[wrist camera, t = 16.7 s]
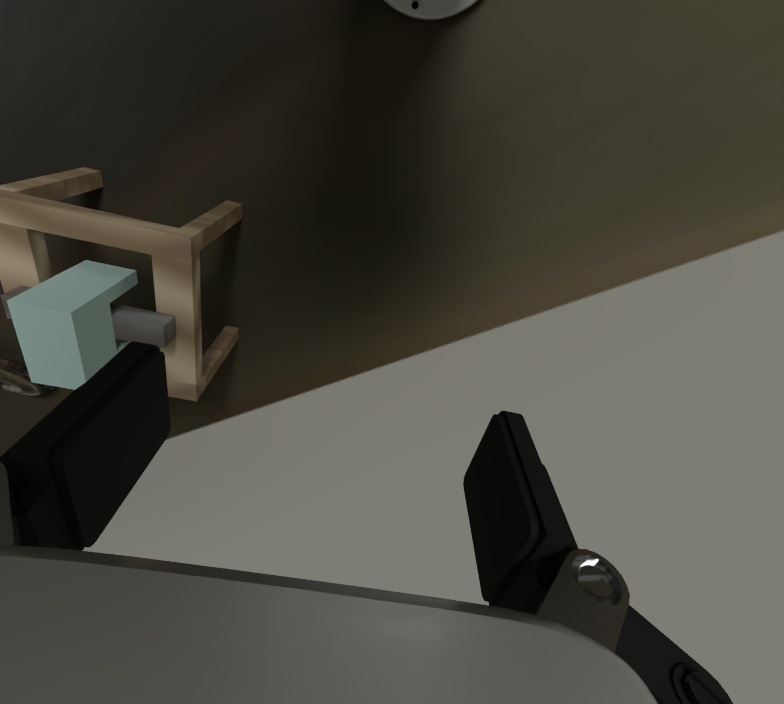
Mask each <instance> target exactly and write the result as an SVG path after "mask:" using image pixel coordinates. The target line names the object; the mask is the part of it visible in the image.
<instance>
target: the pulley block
mask: <svg viewBox="0 0 784 704" xmlns="http://www.w3.org/2000/svg"><path fill="white" fill-rule="evenodd" d="M0 381H2V382H3V383H2V387H3V388H4V389H5V390H7V391H11V392H16V393H19V394H23V395H28V396H39V395H42V394H44V393H45V392H46V391H47V390H49V389H54V388H53V387H51V386H50V385H45V384H39V383H33V382H31V379H30V376H29V373H28V369H27V368H26V367H24V366H22V365H19V364H17V363H14V362H11V361H8V360H5V359H1V358H0ZM48 388H49V389H48Z"/></svg>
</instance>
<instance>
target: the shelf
mask: <svg viewBox="0 0 784 704" xmlns="http://www.w3.org/2000/svg"><path fill="white" fill-rule="evenodd" d="M102 187H103V182H102V175H101V171H99V170H94V169H90V168H86V167H83V168H79V169H74V170H69V171H65V172H60V173H55V174H51V175H46V176H41V177H37V178H32V179H27V180H23V181H18V182H13V183H9V184H4V185H0V280H1V283H2V286H3V290H4V294H2V295H0V296H1V299H2V302H3V305H4V309H5V312H6V315H7V318H9V319H12V317H11V314H10V311H9V307H8V304H7V300H9V299H11V298H13V297H15V296H17V295H19V294H21V293H22V292H24V291H26V290H28V289H30V288H32V287H34V286H36V285H38V284H40V283H42V282H44V281H46V280H48V279H50V278H52V277H53V274H52V269H51V265H50V261H49V256H48V252H47V247H46V243H45V239H44V234H43V232H46V233H51V234H56V235H60V236H65V237H70V238H74V239H79V240H84V241H89V242H93V243H98V244H103V245H108V246H112V247H117V248H122V249H126V250H131V251H136V252H141V253H145V254H150V255H152V266H153V277H154V288H155V300H156V311H157V312H154V311H149V310H144V309H139V308H134V307H129V306H124V305H120V304H115V303H109V304H110V310H111V316H112V322H113V329H114V335H115V339H120V340H125V341H131V342H132V341H137V342H142V343H147V344H153V345H156V346H157V347H160V351H161V352H163V353H164V355H165V363H166V375H167V388H168V396H169V397H175V398H181V399H186V400H192V401H197V400H198V399H199V397H200V396H201V394H202V393H203V391H204V390H205V388H206V387H207V385H208V384H209V382H210V381H211V379H212V378H213V376H214V375H215V373H216V372H217V370H218V369H219V367H220V366H221V364H222V363H223V361H224V360H225V358H226V357H227V355H228V354H229V352H230V351H231V349H232V348H233V346H234V345H235V343H236V342H237V340H238V339H239V328H237V327H232V326H227V325H226V326H225V327H224V329H223V330H222V331H221V333H220V334H219V335H218V336H217V338H216V339H215V340H214V342H213V343H212V344H211V346H210V347H209V348H208V350H207V351H206V352H205V354H204V355H203V356H202V330H201V290H200V250H202V249H203V248H204V247H205V246H207V245H208V244H209V243H211V242H212V241H213V240H215V239H216V238H217V237H219V236H220V235H221V234H223V233H224V232H225V231H227V230H228V229H229V228H230V227H232V226H233V225H234V224H236V223H237V222H238V221H240V220H241V219H242V210H243V204H242V203H238V202H234V201H229V200H227V201H225V202H223V203H222V204H220V205H218V206H217V207H215V208H213V209H211V210H210V211H208V212H206V213H205V214H203V215H201V216H199V217H198V218H196V219H194V220H193V221H191V222H189V223H188V224H186V225H184V226H182V227H181V228H176V227H171V226H166V225H162V224H157V223H153V222H148V221H144V220H139V219H135V218H130V217H125V216H121V215H116V214H112V213H107V212H103V211H98V210H94V209H89V208H85V207H80V206H75V205H71V204H66V203H62V202H57V201H58V200H61V199H65V198H68V197H71V196H75V195H78V194H82V193H85V192H88V191H92V190H95V189H99V188H102Z"/></svg>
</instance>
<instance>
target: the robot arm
mask: <svg viewBox="0 0 784 704" xmlns="http://www.w3.org/2000/svg"><path fill="white" fill-rule="evenodd" d="M383 1H384V2H385V3H386V4H387V5H388V6H390V7H391V8H393V9H394V10H396V11H397V12H399V13H401V14H402V15H405V16H408V17H411V18H414V19H418V20H428V21H433V20H440V19H446V18H449V17H451V16H454V15H456V14H459V13H461V12H463V11H464V10H466V9H467V8H469V7H470V6H472V5H473V4H475V3H476V2H477V1H478V0H383ZM413 2H417V3H418V8H417V9H413V8H412V3H413ZM169 431H170V412H169V400H168V388H167V375H166V363H165V355H164V353H163V352H161V351H159V348H158V347H157V346H156V345H153V344H147V343H142V342H137V341H132V342H130V343H129V344H127V345H126V346H125V347H124V348H123V349H122V350H121V351H120V352H119V353H118V354H116V355H115V356H114V357H113V358H112V359H111V360H110V361H109V362H108V363H106V364H105V365H104V366H103V367H102V368H101V369H100V370H99V371H98V372H96V373H95V374H94V375H93V376H92V377H91V378H90V379H89V380H88V381H87V382H85V383H84V384H82V385H81V386H79V387H78V388H77V389H76V390H74V391H73V392H72V393H71V394H70V395H69V396H68V397H67V398H65V399H64V400H63V401H62V402H61V403H60V404H59V405H58V406H57V407H55V408H54V409H53V410H52V411H51V412H50V413H49V414H48V415H47V416H45V417H44V418H43V419H42V420H41V421H40V422H39V423H38V424H37V425H35V426H34V427H33V428H32V429H31V430H30V431H29V432H28V433H27V434H25V435H24V436H23V437H22V438H21V439H20V440H19V441H18V442H16V443H15V444H14V445H13V446H12V447H11V448H10V449H9V450H8V451H6V452H5V453H4V454H3V455H2V456H1V457H0V704H733V703H732V701H731V700H730V698H729V696H728V694H727V693H726V692H725V690H724V689H723V688H722V686H721V685H720V684H719V682H718V681H717V680H716V679H715V678H714V677H713V676H712V675H711V674H710V673H709V672H708V671H707V670H705V669H704V668H703V667H702V666H700V665H699V664H698V663H697V662H696V661H695V660H694V659H692V658H691V657H690V656H689V655H688V654H687V653H685V652H684V651H683V650H682V649H681V648H679V647H678V646H677V645H676V644H674V642H672V641H671V640H670V639H669V638H668V637H666V636H665V635H664V634H663V633H662V632H661V631H659V630H658V629H657V628H656V627H655V626H653V625H652V624H651V623H650V622H649V621H647V620H646V619H645V618H644V617H643V616H642V615H640V614H639V613H638V612H637V611H636V610H634V609H633V608H632V607H631V606H630V605H629V597H630V595H629V591H628V587H627V585H626V583H625V581H624V579H623V577H622V575H621V574H620V573H619V572H618V571H617V569H616V568H615V567H614V566H613V565H612V564H611V563H610V562H608V561H607V560H606V559H605V558H603V557H602V556H600V555H599V554H597V553H595V552H592V551H589V550H587V549H578V547H577V544H576V542H575V539H574V537H573V534H572V532H571V529H570V527H569V524H568V522H567V519H566V517H565V514H564V512H563V509H562V507H561V504H560V502H559V499H558V497H557V494H556V492H555V489H554V487H553V485H552V482H551V479H550V477H549V475H548V472H547V470H546V468H545V466H544V465H543V464H542V463H541V460H540V458H539V456H538V453H537V450H536V448H535V445H534V443H533V440H532V438H531V435H530V433H529V430H528V428H527V425H526V423H525V420H524V418H523V416H522V415H521V414H517V413H512V412H507V411H501V412H500V413H499V414H498V415H496V414H494V415H493V417H492V418H491V420H490V423H489V425H488V427H487V429H486V431H485V433H484V435H483V437H482V440H481V442H480V444H479V446H478V448H477V450H476V453H475V455H474V457H473V459H472V461H471V463H470V465H469V467H468V469H467V472H466V474H465V477H464V484H463V485H464V492H465V498H466V504H467V510H468V516H469V522H470V528H471V534H472V539H473V545H474V551H475V557H476V563H477V569H478V574H479V581H480V586H481V592H482V597H483V599H484V600H485V601H488V602H489V606H487V605H480V604H475V603H468V602H462V601H456V600H450V599H443V598H436V597H429V596H422V595H415V594H407V593H400V592H393V591H386V590H379V589H372V588H365V587H357V586H350V585H343V584H336V583H328V582H321V581H313V580H306V579H299V578H291V577H284V576H276V575H268V574H261V573H254V572H246V571H239V570H231V569H224V568H216V567H208V566H200V565H193V564H185V563H177V562H170V561H162V560H153V559H146V558H139V557H131V556H122V555H114V554H105V553H94V552H86V551H82V550H83V549H84V547H90V546H92V545H93V544H94V543H95V542H96V541H97V539H98V538H99V536H100V535H101V533H102V532H103V530H104V529H105V527H106V526H107V524H108V523H109V521H110V520H111V519H112V517H113V516H114V514H115V513H116V511H117V510H118V508H119V506H120V505H121V504H122V502H123V501H124V500H125V498H126V497H127V495H128V493H129V492H130V491H131V489H132V488H133V486H134V485H135V484H136V482H137V480H138V479H139V478H140V476H141V475H142V473H143V472H144V470H145V469H146V467H147V466H148V464H149V463H150V461H151V460H152V459H153V457H154V456H155V454H156V453H157V451H158V450H159V448H160V447H161V445H162V444H163V443H164V441H165V440H166V438H167V436H168V434H169Z"/></svg>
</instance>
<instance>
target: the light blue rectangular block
mask: <svg viewBox="0 0 784 704" xmlns="http://www.w3.org/2000/svg"><path fill="white" fill-rule="evenodd" d="M136 284H138V281H137V272H136V270H132V269H127V268H122V267H118V266H113V265H108V264H103V263H98V262H93V261H88V260H85V261H83V262H81V263H79V264H77V265H75V266H73V267H71V268H69V269H67V270H65V271H63V272H62V273H60V274H58V275H56V276H54V277H52V278H50V279H48V280H46V281H44V282H42V283H40V284H38V285H36V286H34V287H32V288H30V289H28V290H26V291H24V292H22V293H21V294H19V295H17V296H15V297H13V298H11V299H9V300H7V304H8V307H9V311H10V314H11V317H12V320H13V324H14V327H15V330H16V333H17V337H18V340H19V343H20V346H21V350H22V353H23V356H24V360H25V363H26V366H27V369H28V373H29V376H30V379H31V382H33V383H39V384H45V385H50V386H56V387H62V388H68V389H74V390H76V389H77V388H78V387H79V386H81V385H82V384H84V383H85V382H87V381H88V380H89V379H90V378H91V377H92V376H93V375H94V374H95V373H96V372H98V371H99V370H100V369H101V368H102V367H103V366H104V365H105V364H106V363H108V362H109V361H110V360H111V359H112V358H113V357H114V356H115V355H116V354H118V353H119V352H120V351H121V350H122V349H123V348H124V347H125V346H126V345H127V344H129V343H130V342H131V341H125V340H120V339H115V335H114V329H113V322H112V316H111V310H110V304H109V303H111V302H112V301H114V300H115V299H116V298H118V297H119V296H121V295H122V294H124V293H125V292H126V291H128V290H129V289H131V288H132V287H134V286H135V285H136Z"/></svg>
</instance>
